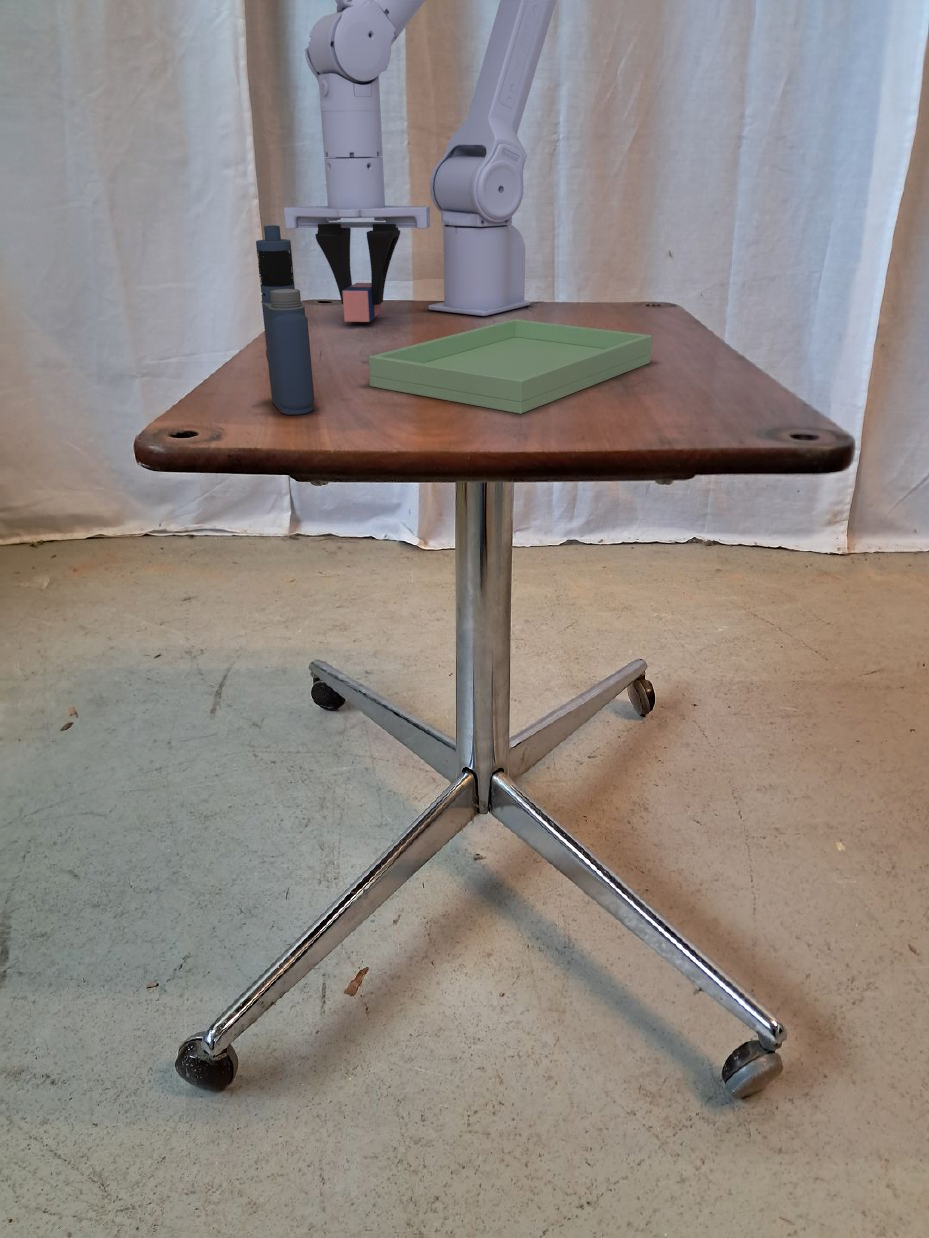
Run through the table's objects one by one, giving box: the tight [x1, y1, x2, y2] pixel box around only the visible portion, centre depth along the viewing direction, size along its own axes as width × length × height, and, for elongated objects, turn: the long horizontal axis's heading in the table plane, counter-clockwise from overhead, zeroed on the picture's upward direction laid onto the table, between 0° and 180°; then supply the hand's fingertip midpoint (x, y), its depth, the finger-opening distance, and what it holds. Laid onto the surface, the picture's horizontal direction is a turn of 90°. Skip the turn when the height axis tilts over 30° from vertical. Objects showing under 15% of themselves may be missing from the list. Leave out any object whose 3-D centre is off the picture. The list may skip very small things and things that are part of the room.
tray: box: [368, 318, 653, 415], centre depth 75 cm, size 20×14×2 cm
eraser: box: [342, 282, 382, 323], centre depth 96 cm, size 6×3×3 cm, turn 172°
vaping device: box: [255, 224, 315, 416], centre depth 64 cm, size 3×5×12 cm, turn 21°
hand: (362, 303), depth 96 cm, fingers closed on eraser, 3 cm apart
